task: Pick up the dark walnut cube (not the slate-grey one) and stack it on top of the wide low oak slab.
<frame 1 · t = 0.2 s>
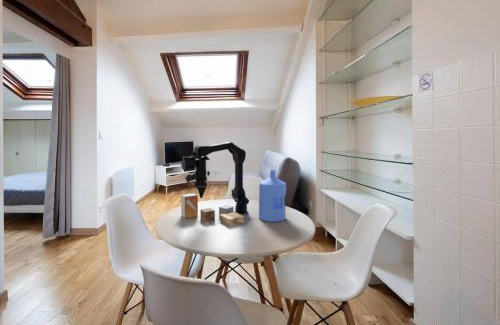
hand: (201, 196, 142), 14 cm above the table, fingers open, 9 cm apart
walnut cube: (207, 220, 144), on the table
water jug: (272, 218, 149), on the table
slate cube: (226, 216, 151), on the table
small box: (189, 216, 150), on the table
oak slab: (231, 222, 142), on the table
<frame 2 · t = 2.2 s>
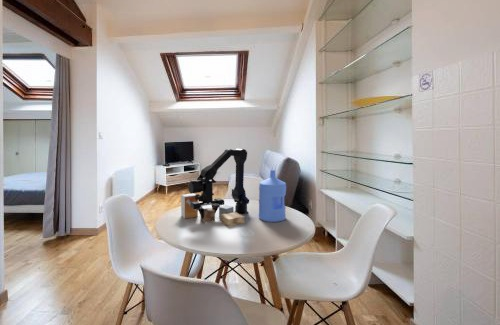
hand: (207, 218, 144), 1 cm above the table, fingers closed on walnut cube, 6 cm apart
walnut cube: (207, 220, 144), on the table, touching gripper
everything else where it was.
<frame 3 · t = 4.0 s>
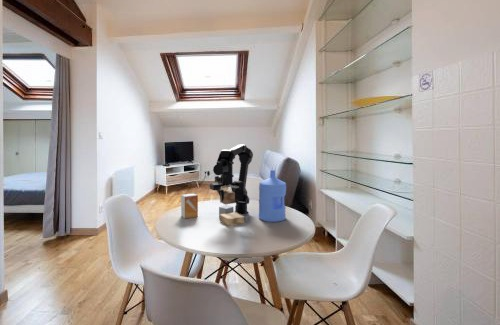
hand: (227, 200, 141), 12 cm above the table, fingers closed on walnut cube, 6 cm apart
walnut cube: (227, 202, 141), point 11 cm above the table, touching gripper
everything else where it was.
when the fingers open (6 cm above the table, at t = 5.7 s): walnut cube drops 2 cm, resting on oak slab.
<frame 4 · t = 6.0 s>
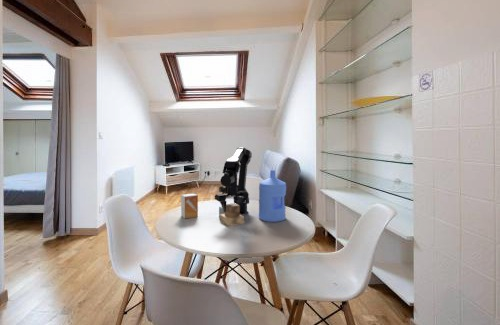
hand: (232, 210, 141), 6 cm above the table, fingers open, 9 cm apart
walnut cube: (232, 215, 141), point 4 cm above the table, touching oak slab
oak slab: (231, 222, 142), on the table, touching walnut cube
everything else where it was.
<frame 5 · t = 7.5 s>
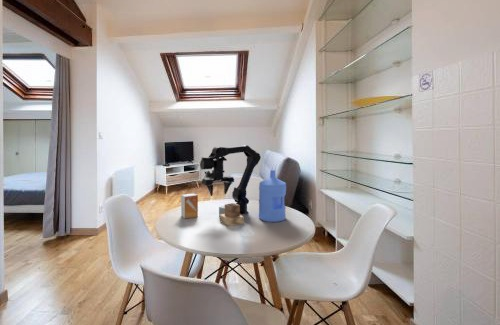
hand: (218, 195, 149), 13 cm above the table, fingers open, 9 cm apart
nothing on the table moved.
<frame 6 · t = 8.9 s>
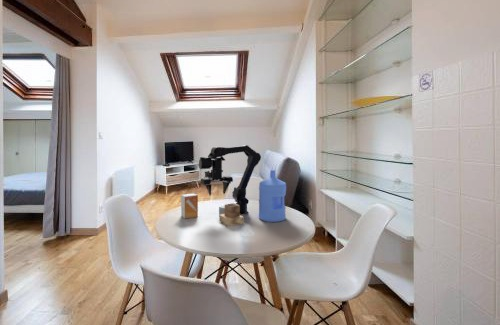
hand: (217, 194, 151), 13 cm above the table, fingers open, 9 cm apart
nothing on the table moved.
at the end: walnut cube inside the target area on the oak slab (0.5 cm from its centre), point 4.0 cm above the oak slab's base; walnut cube tilted 1°; the gripper is holding nothing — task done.
